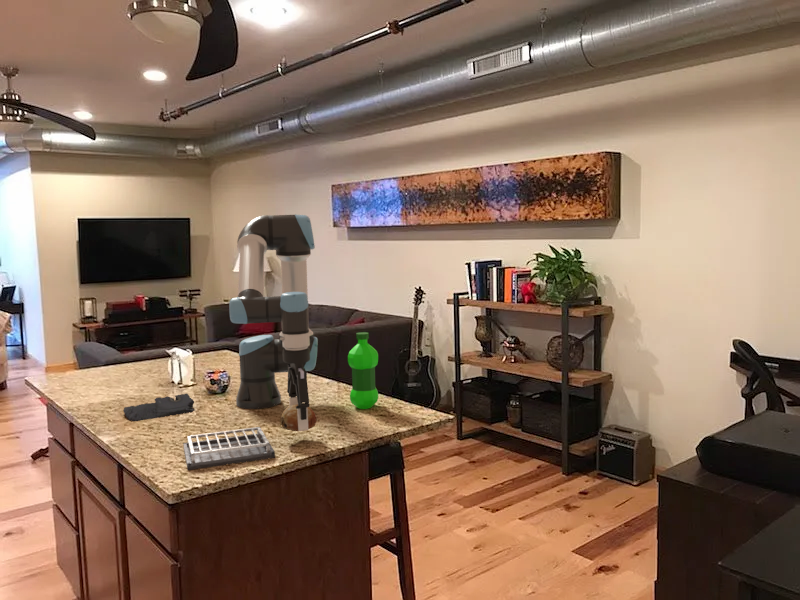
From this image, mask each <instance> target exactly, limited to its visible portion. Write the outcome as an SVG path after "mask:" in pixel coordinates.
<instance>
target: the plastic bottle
mask: <svg viewBox="0 0 800 600" xmlns="http://www.w3.org/2000/svg"><path fill="white" fill-rule="evenodd" d="M355 334H356V335H355V336H356V337H355V338H356V340H357V343H356V345H354V346H353V347H352V348H351V350H349V352H348V355H347V363H348V366H349V367H350V368H351V378H352V379H351V380H352V381H351V382H352V383H351V384H352V388H351V391H350V394H349V400H350V402H351V404H352V405H353V406H355V407H356V408H357V409H360V410H365V409H366V410H369V409H371V408H373V407H374V406H375V405H376V403H377V402H378V401H379V392H378V389H377V388H376V366H378V364H379V363H378V362H379V353H378V350H376V349H375V348H374V347H373V345H370V343H368V340H369V339H370V336H369V334H370V333H369V332H366V331H363V332H356V333H355Z"/></svg>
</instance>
